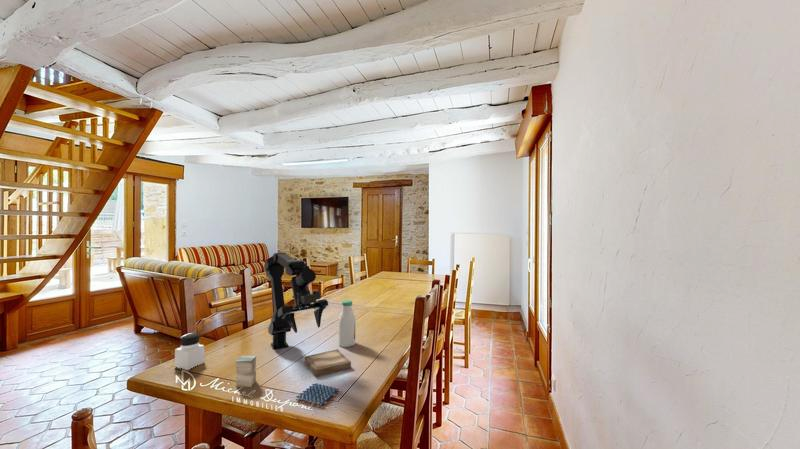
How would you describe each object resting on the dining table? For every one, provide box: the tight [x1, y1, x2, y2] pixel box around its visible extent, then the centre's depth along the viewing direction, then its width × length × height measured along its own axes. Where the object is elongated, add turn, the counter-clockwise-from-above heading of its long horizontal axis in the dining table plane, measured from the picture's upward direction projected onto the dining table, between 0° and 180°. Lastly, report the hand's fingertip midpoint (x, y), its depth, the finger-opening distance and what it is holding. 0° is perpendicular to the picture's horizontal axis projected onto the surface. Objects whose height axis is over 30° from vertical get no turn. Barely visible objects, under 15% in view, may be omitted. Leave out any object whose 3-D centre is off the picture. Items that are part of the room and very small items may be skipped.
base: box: [304, 349, 352, 378], centre depth 126 cm, size 14×14×3 cm
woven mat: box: [295, 383, 340, 409], centre depth 103 cm, size 10×11×2 cm
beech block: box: [235, 355, 257, 388], centre depth 111 cm, size 4×5×9 cm
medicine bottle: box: [174, 332, 206, 371], centre depth 125 cm, size 7×7×12 cm
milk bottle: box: [337, 300, 356, 348], centre depth 147 cm, size 8×8×20 cm
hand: (307, 329), depth 122 cm, fingers open, 9 cm apart
